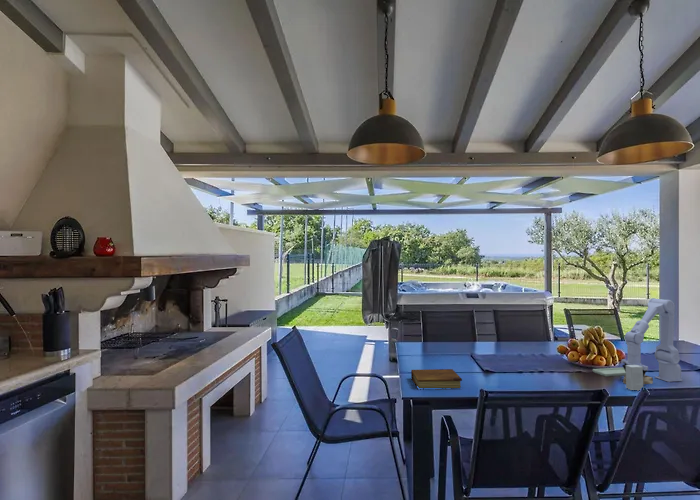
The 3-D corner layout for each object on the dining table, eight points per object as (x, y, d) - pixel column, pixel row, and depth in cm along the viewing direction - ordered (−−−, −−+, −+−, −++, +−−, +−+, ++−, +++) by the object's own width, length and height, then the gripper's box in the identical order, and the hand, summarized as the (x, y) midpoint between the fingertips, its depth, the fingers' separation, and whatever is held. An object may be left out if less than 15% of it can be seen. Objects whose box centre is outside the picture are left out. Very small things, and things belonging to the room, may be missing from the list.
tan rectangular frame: (643, 380, 214) (643, 374, 214) (652, 383, 209) (652, 377, 209) (620, 381, 212) (620, 375, 212) (629, 385, 207) (629, 379, 207)
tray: (622, 369, 234) (622, 367, 234) (636, 374, 224) (636, 372, 224) (592, 371, 231) (592, 369, 231) (605, 376, 221) (605, 374, 222)
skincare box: (637, 388, 202) (636, 364, 203) (643, 390, 198) (643, 366, 198) (625, 388, 202) (625, 364, 202) (631, 391, 198) (631, 367, 198)
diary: (452, 379, 223) (451, 368, 223) (462, 390, 204) (462, 379, 204) (411, 379, 222) (411, 368, 222) (417, 390, 203) (417, 379, 203)
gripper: (616, 351, 217) (616, 376, 217) (639, 358, 203) (639, 385, 203) (627, 351, 218) (628, 375, 218) (651, 357, 204) (651, 384, 204)
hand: (634, 380), depth 210 cm, fingers closed on tan rectangular frame, 5 cm apart
